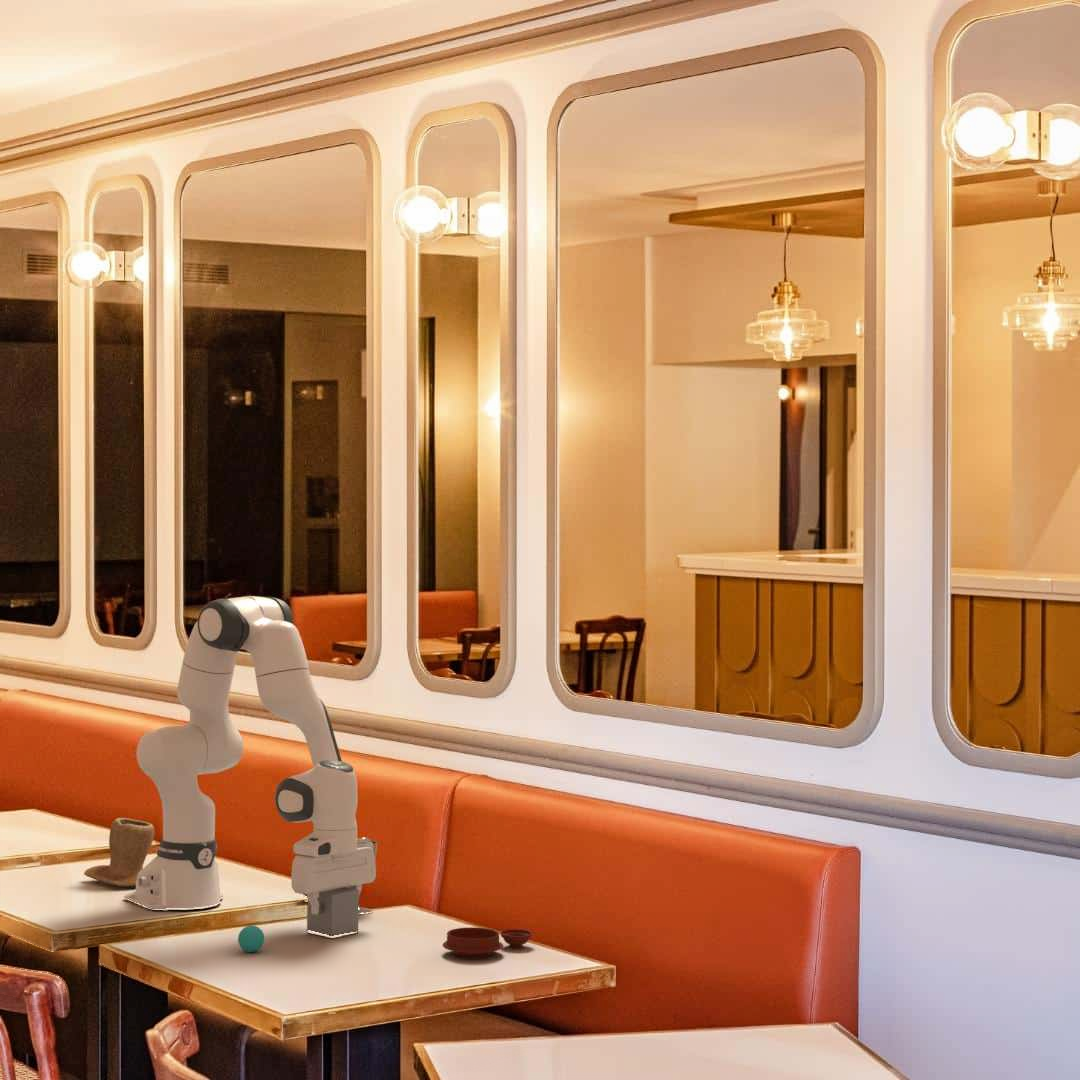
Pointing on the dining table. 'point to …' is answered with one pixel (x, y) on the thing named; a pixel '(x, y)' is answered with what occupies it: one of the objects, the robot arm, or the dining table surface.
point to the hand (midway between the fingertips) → (334, 910)
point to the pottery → (483, 941)
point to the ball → (251, 938)
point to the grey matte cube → (335, 912)
